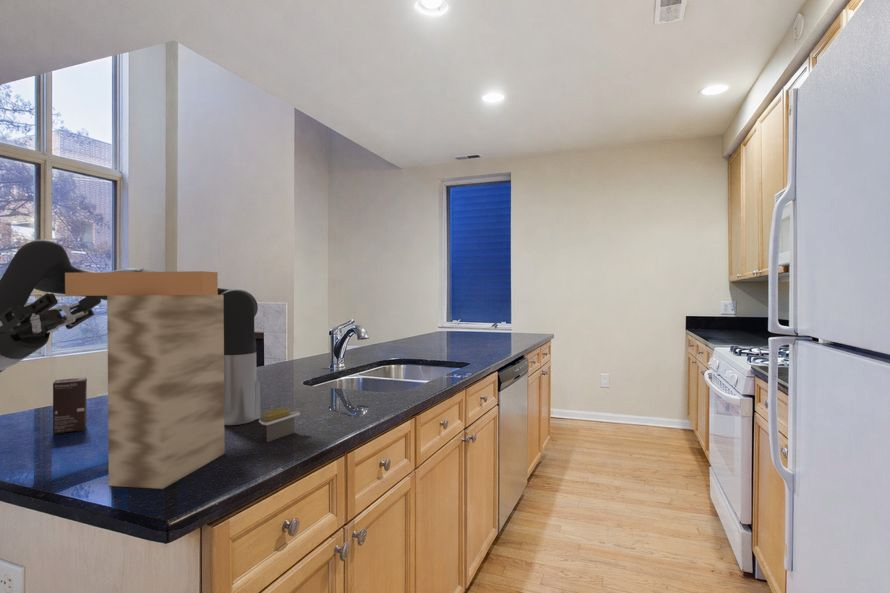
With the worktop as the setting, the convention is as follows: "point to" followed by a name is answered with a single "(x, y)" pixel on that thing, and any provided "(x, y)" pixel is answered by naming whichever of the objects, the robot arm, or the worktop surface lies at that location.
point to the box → (69, 405)
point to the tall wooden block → (164, 387)
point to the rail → (141, 283)
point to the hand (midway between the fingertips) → (77, 297)
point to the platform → (279, 423)
